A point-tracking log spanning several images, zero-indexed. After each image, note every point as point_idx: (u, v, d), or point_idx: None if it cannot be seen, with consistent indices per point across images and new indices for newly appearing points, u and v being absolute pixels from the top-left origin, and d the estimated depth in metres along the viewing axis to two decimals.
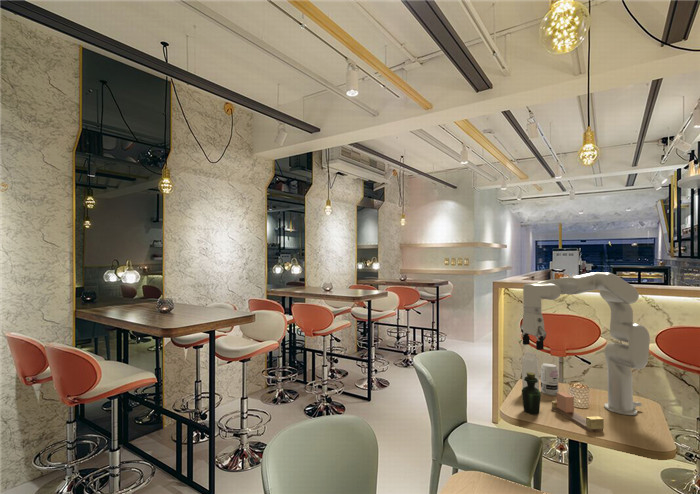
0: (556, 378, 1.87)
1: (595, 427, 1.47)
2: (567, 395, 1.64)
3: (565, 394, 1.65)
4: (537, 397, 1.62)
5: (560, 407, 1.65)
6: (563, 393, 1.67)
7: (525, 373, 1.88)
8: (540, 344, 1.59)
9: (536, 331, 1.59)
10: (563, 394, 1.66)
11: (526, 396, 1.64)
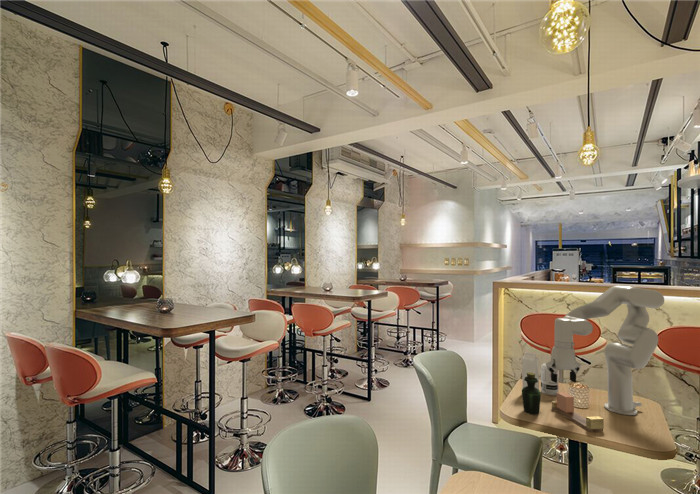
0: None
1: (595, 427, 1.47)
2: (567, 395, 1.64)
3: (565, 394, 1.65)
4: (537, 397, 1.62)
5: (560, 407, 1.65)
6: (563, 393, 1.67)
7: (525, 373, 1.88)
8: None
9: None
10: (563, 394, 1.66)
11: (526, 396, 1.64)
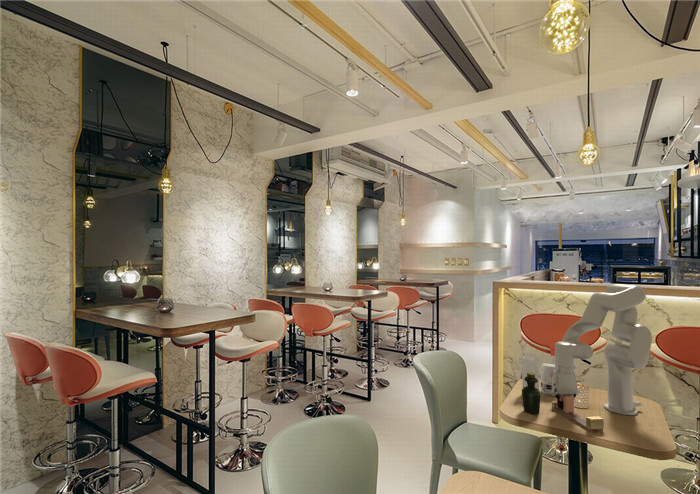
0: None
1: (595, 427, 1.47)
2: (567, 395, 1.64)
3: (565, 394, 1.65)
4: (537, 397, 1.62)
5: None
6: None
7: (525, 373, 1.88)
8: None
9: None
10: None
11: (526, 396, 1.64)
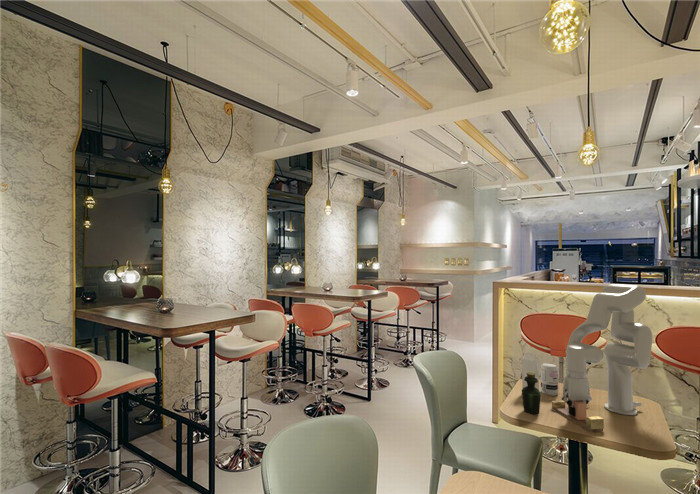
0: (556, 378, 1.87)
1: (595, 427, 1.47)
2: (579, 401, 1.57)
3: None
4: (537, 397, 1.62)
5: None
6: None
7: (525, 373, 1.88)
8: None
9: None
10: None
11: (526, 396, 1.64)
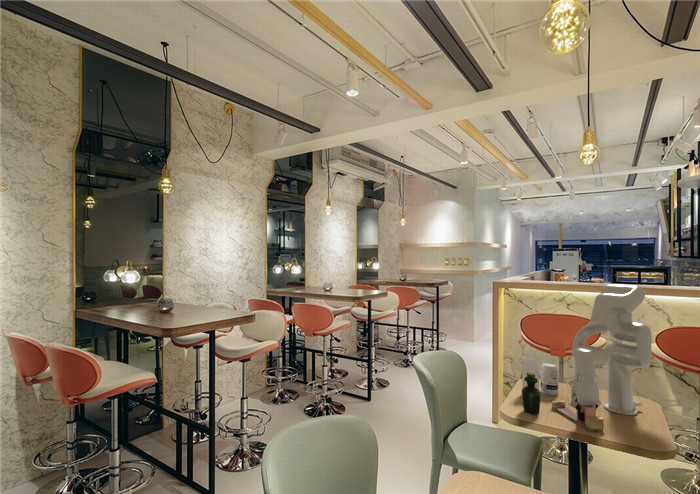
0: (556, 378, 1.87)
1: (595, 427, 1.47)
2: (588, 406, 1.52)
3: (586, 405, 1.53)
4: (537, 397, 1.62)
5: None
6: None
7: (525, 373, 1.88)
8: None
9: None
10: None
11: (526, 396, 1.64)
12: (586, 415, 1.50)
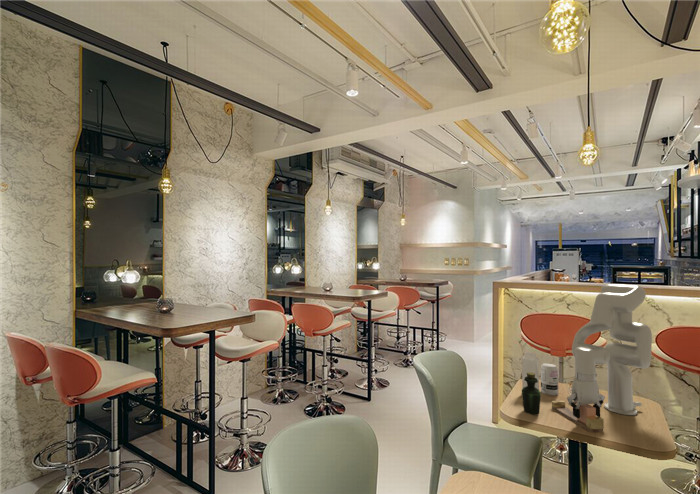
0: (556, 378, 1.87)
1: (595, 427, 1.47)
2: (588, 406, 1.52)
3: (586, 405, 1.53)
4: (537, 397, 1.62)
5: (581, 419, 1.53)
6: (584, 404, 1.54)
7: (525, 373, 1.88)
8: None
9: None
10: (584, 404, 1.53)
11: (526, 396, 1.64)
12: (586, 415, 1.50)
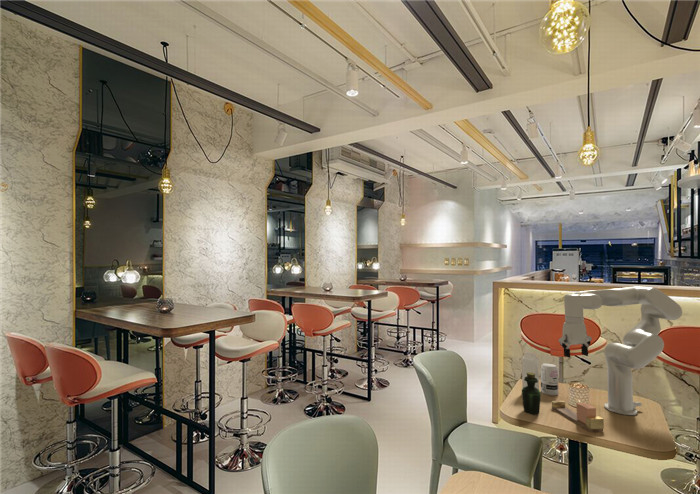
0: (556, 378, 1.87)
1: (595, 427, 1.47)
2: (588, 406, 1.52)
3: (586, 405, 1.53)
4: (537, 397, 1.62)
5: (581, 419, 1.53)
6: (584, 404, 1.54)
7: (525, 373, 1.88)
8: None
9: None
10: (584, 404, 1.53)
11: (526, 396, 1.64)
12: (586, 415, 1.50)
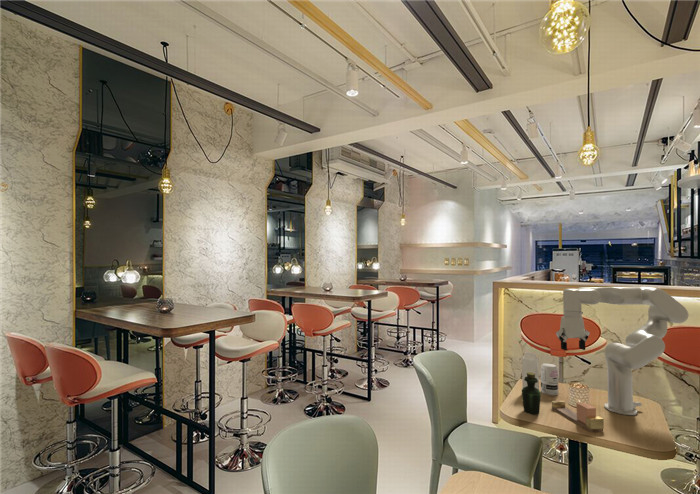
0: (556, 378, 1.87)
1: (595, 427, 1.47)
2: (588, 406, 1.52)
3: (586, 405, 1.53)
4: (537, 397, 1.62)
5: (581, 419, 1.53)
6: (584, 404, 1.54)
7: (525, 373, 1.88)
8: None
9: None
10: (584, 404, 1.53)
11: (526, 396, 1.64)
12: (586, 415, 1.50)
